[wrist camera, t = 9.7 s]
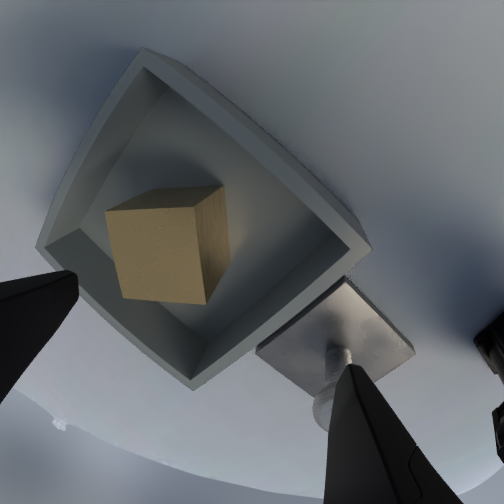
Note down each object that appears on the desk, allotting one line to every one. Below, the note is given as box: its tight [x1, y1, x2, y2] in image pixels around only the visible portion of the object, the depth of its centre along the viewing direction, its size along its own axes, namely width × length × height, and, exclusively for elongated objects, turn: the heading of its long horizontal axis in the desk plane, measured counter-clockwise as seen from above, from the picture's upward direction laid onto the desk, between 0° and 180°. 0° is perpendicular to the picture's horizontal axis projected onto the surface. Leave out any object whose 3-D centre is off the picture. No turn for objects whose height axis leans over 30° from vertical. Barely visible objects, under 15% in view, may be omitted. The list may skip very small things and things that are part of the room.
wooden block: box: [104, 185, 231, 305], centre depth 18 cm, size 5×5×6 cm
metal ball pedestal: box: [255, 276, 416, 432], centre depth 20 cm, size 9×9×8 cm
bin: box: [35, 47, 373, 391], centre depth 19 cm, size 16×16×5 cm
